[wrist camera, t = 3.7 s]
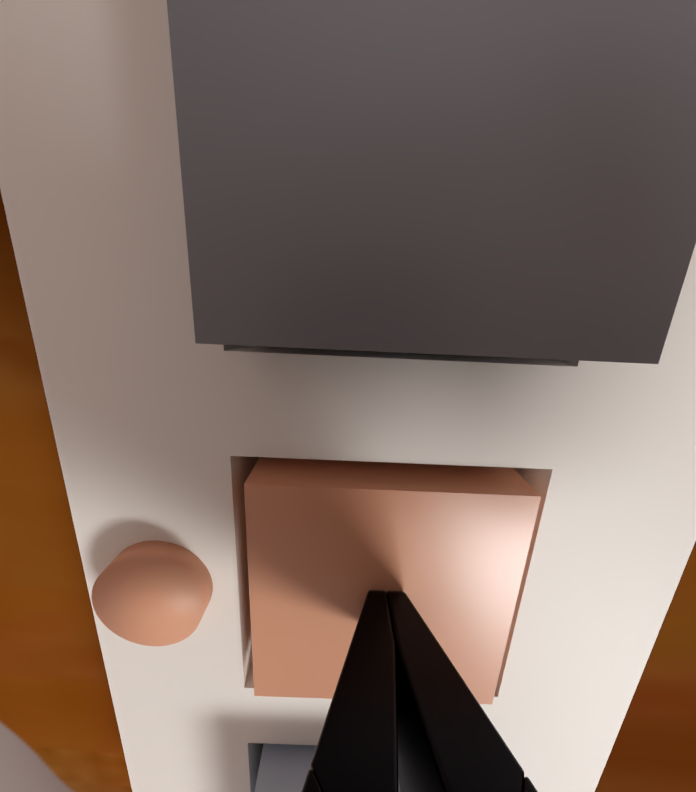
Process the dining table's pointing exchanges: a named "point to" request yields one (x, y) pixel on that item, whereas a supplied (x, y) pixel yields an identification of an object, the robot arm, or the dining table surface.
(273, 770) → the blue key
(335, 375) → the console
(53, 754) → the dining table surface
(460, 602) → the terracotta key
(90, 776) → the dining table surface
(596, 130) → the charcoal key
